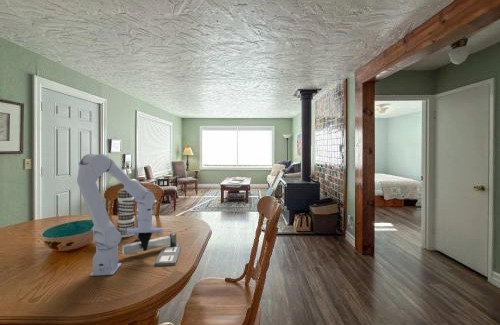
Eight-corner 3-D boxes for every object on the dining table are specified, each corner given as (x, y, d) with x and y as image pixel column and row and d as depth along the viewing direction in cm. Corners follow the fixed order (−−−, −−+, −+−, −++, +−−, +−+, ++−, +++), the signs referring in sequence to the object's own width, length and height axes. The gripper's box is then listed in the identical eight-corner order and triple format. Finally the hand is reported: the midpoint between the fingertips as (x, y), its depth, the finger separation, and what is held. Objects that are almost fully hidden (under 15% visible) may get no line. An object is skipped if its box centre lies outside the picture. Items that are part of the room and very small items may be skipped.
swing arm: (124, 255, 110) (124, 247, 110) (122, 252, 113) (122, 245, 112) (170, 244, 123) (170, 237, 123) (167, 243, 125) (167, 236, 125)
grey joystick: (177, 248, 123) (177, 235, 123) (166, 248, 123) (166, 236, 122) (179, 244, 128) (179, 232, 128) (168, 245, 128) (168, 232, 127)
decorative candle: (138, 232, 148) (138, 187, 147) (129, 237, 138) (129, 190, 138) (123, 231, 149) (122, 187, 148) (113, 237, 139) (112, 189, 139)
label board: (175, 264, 105) (175, 261, 105) (154, 265, 104) (154, 262, 104) (180, 248, 123) (180, 245, 123) (163, 249, 122) (163, 246, 122)
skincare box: (151, 238, 138) (151, 214, 138) (146, 240, 134) (146, 216, 134) (141, 236, 140) (140, 213, 140) (135, 239, 136) (135, 215, 135)
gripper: (164, 216, 118) (164, 246, 119) (130, 216, 117) (130, 247, 117) (161, 220, 111) (161, 251, 112) (124, 220, 110) (125, 253, 110)
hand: (145, 250), depth 114 cm, fingers closed
